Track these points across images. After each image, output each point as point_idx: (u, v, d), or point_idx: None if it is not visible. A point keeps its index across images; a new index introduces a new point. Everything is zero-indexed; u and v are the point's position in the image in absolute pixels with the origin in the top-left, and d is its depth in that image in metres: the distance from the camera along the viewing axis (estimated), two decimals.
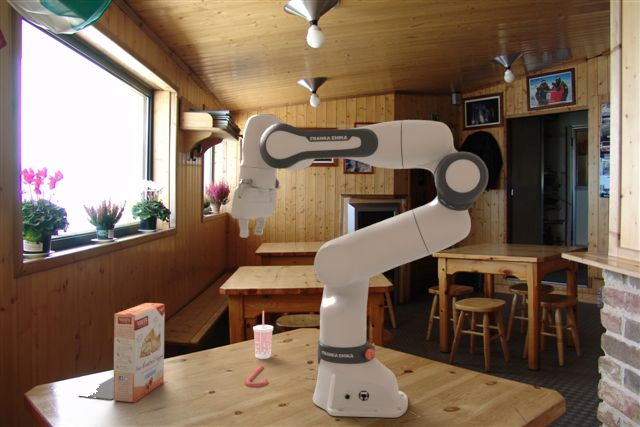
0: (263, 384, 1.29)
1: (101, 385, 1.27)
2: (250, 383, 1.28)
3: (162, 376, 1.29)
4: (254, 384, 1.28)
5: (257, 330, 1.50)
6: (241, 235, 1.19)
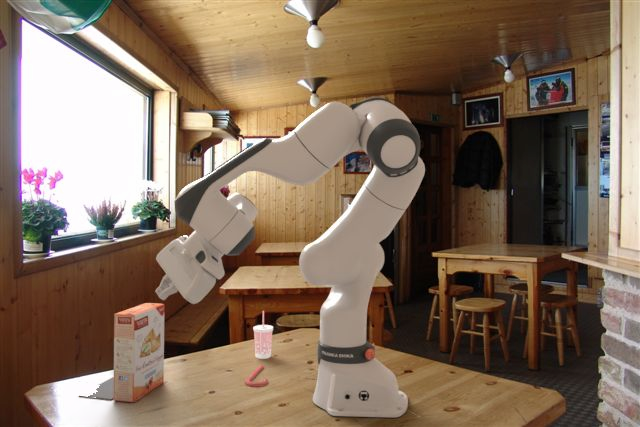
0: (263, 384, 1.29)
1: (101, 385, 1.27)
2: (250, 383, 1.28)
3: (162, 376, 1.29)
4: (254, 384, 1.28)
5: (257, 330, 1.50)
6: None
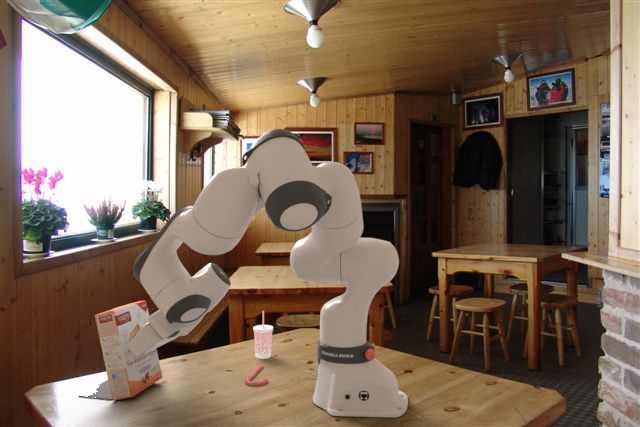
0: (263, 383, 1.29)
1: (101, 385, 1.27)
2: (250, 382, 1.29)
3: (159, 371, 1.30)
4: (254, 383, 1.28)
5: (257, 330, 1.50)
6: None
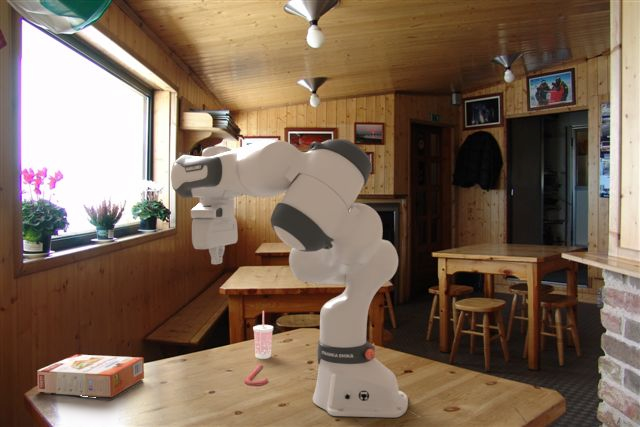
0: (263, 382, 1.30)
1: None
2: (250, 382, 1.29)
3: (135, 357, 1.31)
4: (254, 383, 1.29)
5: (257, 330, 1.50)
6: None
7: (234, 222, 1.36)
